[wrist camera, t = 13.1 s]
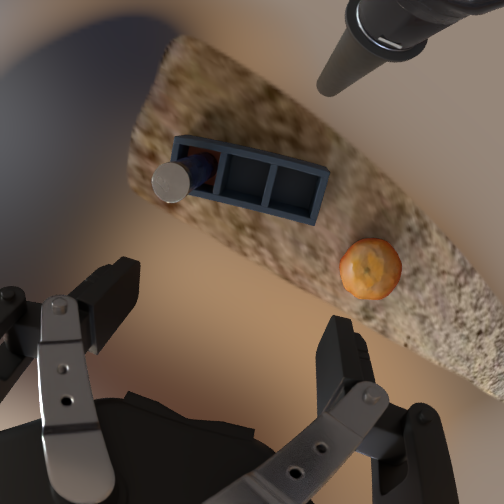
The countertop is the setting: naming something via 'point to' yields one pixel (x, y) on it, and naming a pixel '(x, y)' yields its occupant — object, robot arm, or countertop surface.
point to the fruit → (370, 269)
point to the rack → (258, 179)
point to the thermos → (183, 176)
